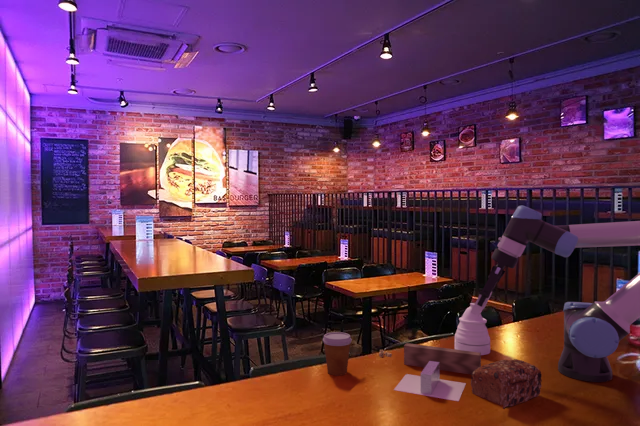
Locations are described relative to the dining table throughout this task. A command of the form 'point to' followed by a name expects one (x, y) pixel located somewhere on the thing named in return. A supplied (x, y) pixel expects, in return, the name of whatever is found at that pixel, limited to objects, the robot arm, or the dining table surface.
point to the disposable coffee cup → (337, 352)
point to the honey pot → (472, 333)
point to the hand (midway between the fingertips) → (477, 310)
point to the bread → (507, 382)
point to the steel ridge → (430, 377)
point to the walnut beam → (442, 358)
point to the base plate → (442, 389)
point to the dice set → (384, 354)
